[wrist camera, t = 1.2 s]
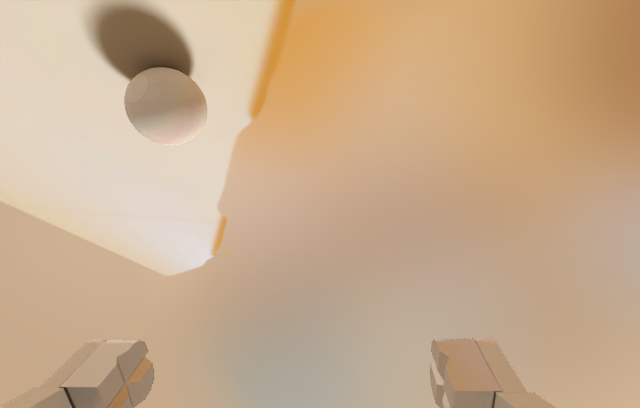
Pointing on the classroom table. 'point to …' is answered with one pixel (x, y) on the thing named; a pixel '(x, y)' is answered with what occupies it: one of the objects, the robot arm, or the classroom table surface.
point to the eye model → (165, 106)
